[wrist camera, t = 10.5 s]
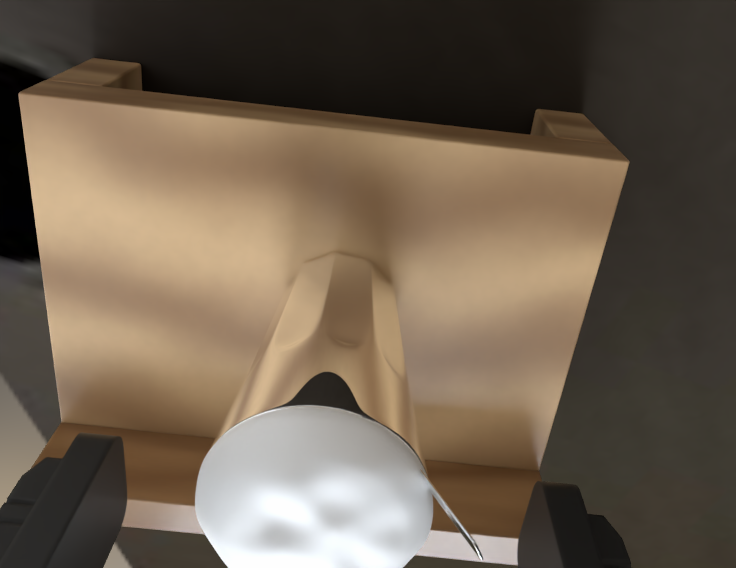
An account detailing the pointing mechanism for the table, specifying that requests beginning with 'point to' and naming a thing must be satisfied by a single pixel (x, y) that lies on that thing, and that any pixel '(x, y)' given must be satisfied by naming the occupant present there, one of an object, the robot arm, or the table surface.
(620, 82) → the table surface
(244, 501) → the milkshake
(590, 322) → the table surface
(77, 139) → the shelf
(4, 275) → the table surface
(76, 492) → the robot arm
